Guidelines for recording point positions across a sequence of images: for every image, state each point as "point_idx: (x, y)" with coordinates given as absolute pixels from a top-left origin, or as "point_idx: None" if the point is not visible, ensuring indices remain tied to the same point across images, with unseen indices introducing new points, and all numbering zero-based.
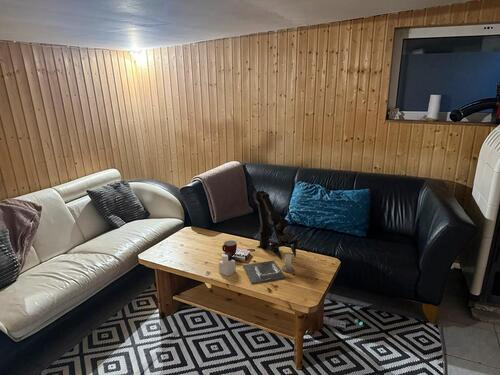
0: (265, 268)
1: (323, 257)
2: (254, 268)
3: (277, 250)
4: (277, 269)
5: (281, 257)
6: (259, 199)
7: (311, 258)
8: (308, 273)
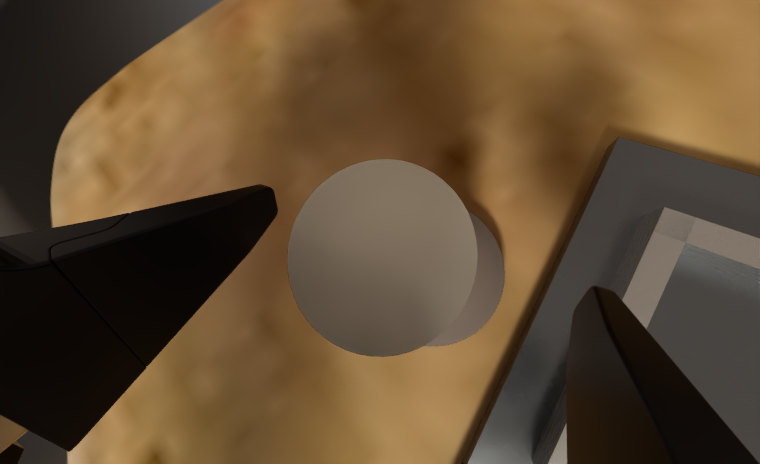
0: None
1: (73, 203)
2: None
3: None
4: (637, 301)
5: (614, 320)
6: None
7: None
8: (339, 91)
